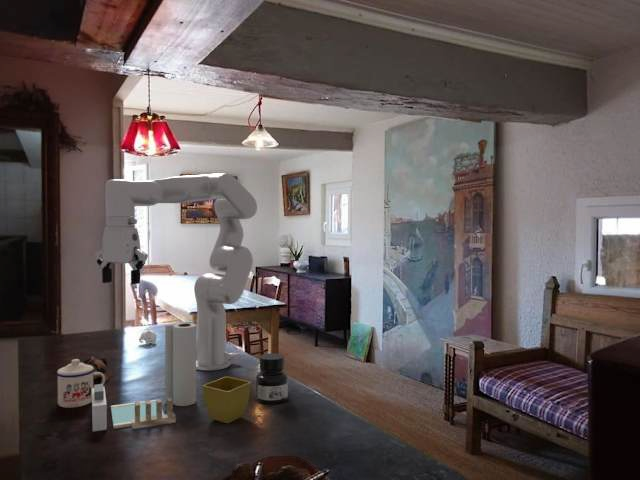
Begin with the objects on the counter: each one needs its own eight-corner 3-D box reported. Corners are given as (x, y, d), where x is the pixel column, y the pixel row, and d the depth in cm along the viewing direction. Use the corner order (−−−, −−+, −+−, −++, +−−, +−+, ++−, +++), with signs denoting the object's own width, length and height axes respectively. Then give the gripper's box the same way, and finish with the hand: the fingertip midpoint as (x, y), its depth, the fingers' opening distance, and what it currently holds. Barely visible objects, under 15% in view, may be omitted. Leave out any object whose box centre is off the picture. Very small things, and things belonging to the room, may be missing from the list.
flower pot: (228, 428, 119) (228, 391, 119) (201, 421, 124) (201, 384, 124) (251, 417, 127) (252, 381, 126) (225, 410, 131) (226, 375, 131)
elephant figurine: (137, 343, 203) (137, 328, 203) (158, 341, 207) (158, 327, 207) (139, 346, 197) (139, 331, 197) (160, 345, 201) (160, 330, 200)
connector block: (104, 409, 131) (104, 379, 131) (106, 429, 118) (106, 395, 118) (92, 411, 130) (91, 380, 129) (92, 431, 117) (92, 397, 117)
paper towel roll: (200, 401, 137) (200, 324, 136) (183, 408, 132) (183, 327, 131) (182, 396, 141) (182, 321, 140) (165, 403, 136) (165, 324, 135)
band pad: (158, 401, 137) (158, 399, 137) (166, 420, 124) (166, 417, 124) (110, 408, 132) (110, 405, 132) (113, 428, 119) (113, 425, 119)
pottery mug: (103, 387, 150) (87, 365, 148) (78, 398, 152) (62, 377, 150) (121, 366, 162) (107, 345, 160) (97, 377, 164) (83, 356, 162)
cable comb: (174, 418, 125) (174, 397, 125) (175, 422, 123) (175, 400, 123) (131, 425, 121) (131, 402, 120) (132, 429, 118) (132, 406, 118)
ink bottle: (256, 406, 134) (256, 361, 134) (252, 395, 143) (252, 353, 142) (292, 403, 137) (292, 359, 136) (285, 392, 145) (285, 351, 145)
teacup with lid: (60, 411, 129) (59, 366, 129) (54, 401, 137) (53, 358, 136) (109, 401, 137) (109, 359, 136) (100, 392, 144) (100, 352, 144)
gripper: (154, 223, 144) (155, 282, 144) (104, 223, 149) (105, 280, 150) (137, 223, 137) (138, 286, 137) (85, 223, 142) (86, 283, 142)
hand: (121, 283), depth 143 cm, fingers open, 9 cm apart
